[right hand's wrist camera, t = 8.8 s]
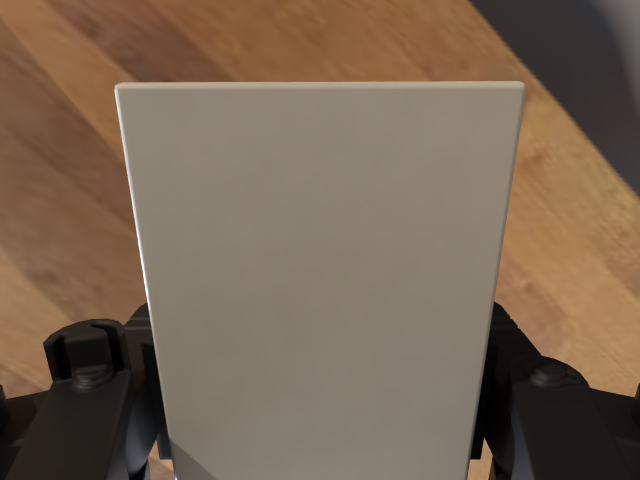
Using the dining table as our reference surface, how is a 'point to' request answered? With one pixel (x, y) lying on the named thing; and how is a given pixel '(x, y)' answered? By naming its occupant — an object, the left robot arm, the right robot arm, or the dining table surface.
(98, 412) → the right robot arm
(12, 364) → the dining table surface
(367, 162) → the bar
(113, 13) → the dining table surface
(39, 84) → the dining table surface
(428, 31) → the dining table surface
